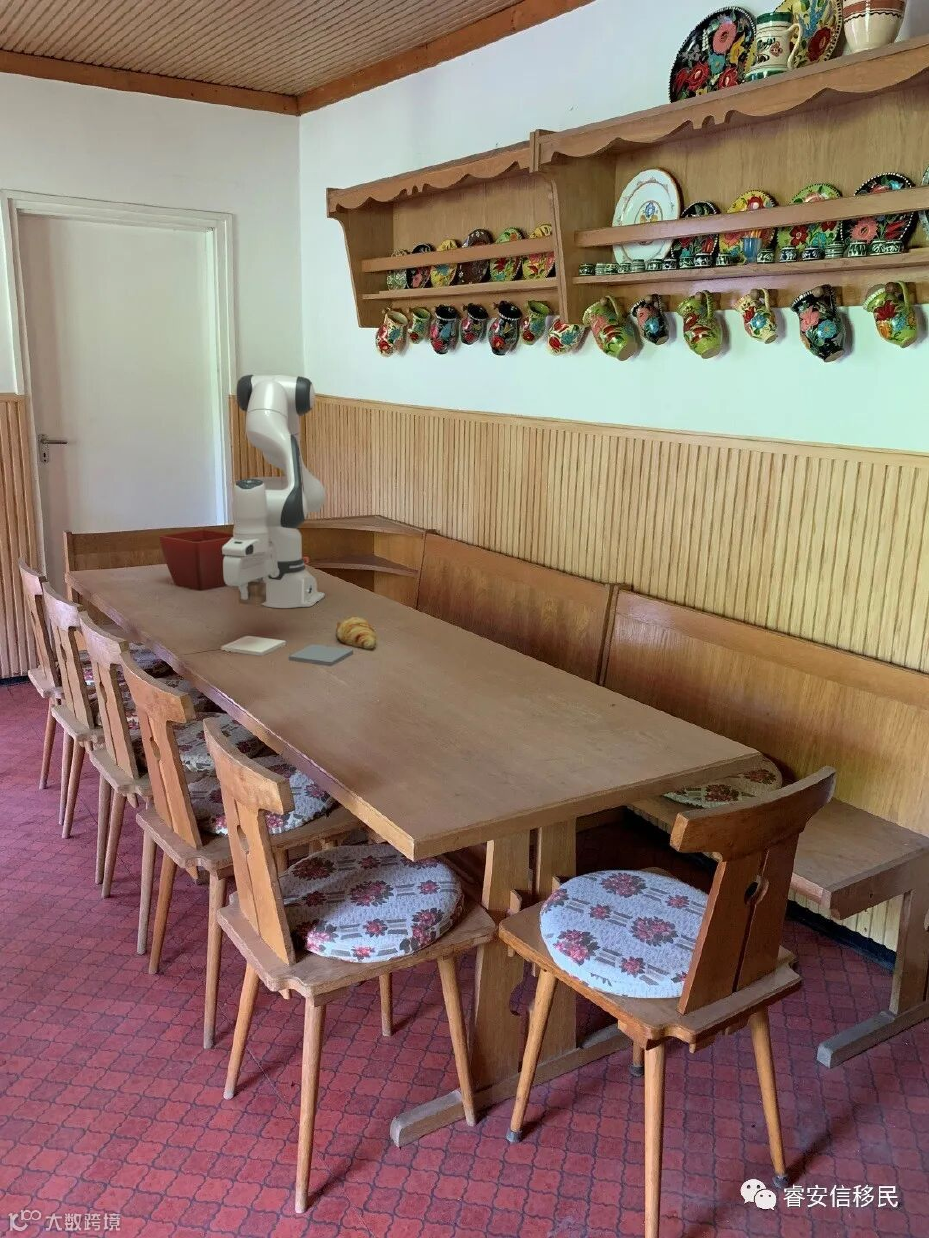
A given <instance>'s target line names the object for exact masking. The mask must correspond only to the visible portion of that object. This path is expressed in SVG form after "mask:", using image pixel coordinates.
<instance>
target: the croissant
mask: <svg viewBox="0 0 929 1238" xmlns="http://www.w3.org/2000/svg"><path fill="white" fill-rule="evenodd" d="M335 632H336V633H335V634H336V637H337V639H338V640H339V641H340V642H342V643H343V644H345V645H349V646H353V647H355V648H363V649H367V650H368V649H369V650H370V649H373V648H374V647H375V646H376V645H377V635H376V633H375V630H374V628H373V627H372V625H371V623H370V622H369V621H368V620H366V619H365V618H363V617H359V616H352V617H348V618H346V619H345V620H343V621H338V622H337V625H336V628H335Z"/></svg>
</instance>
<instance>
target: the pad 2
mask: <svg viewBox="0 0 929 1238" xmlns="http://www.w3.org/2000/svg"><path fill="white" fill-rule="evenodd" d="M352 655H354V649H350V648H344V647H335V646H327V645H319V644H313V643H312V644H311V645H309V646H306V647H305V648H303V649H300V650H297V651H296V652H294V653H293V654H291V655H289V656H288V660H289V661H294V662H301V663H309V664H315V665H323V666H327V667H329V666H330V667H332V666H334V665H335V664H337V663H339V662H341V661H343V660H344V659H346V658H348V657H350V656H352Z"/></svg>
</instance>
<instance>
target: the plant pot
mask: <svg viewBox="0 0 929 1238" xmlns="http://www.w3.org/2000/svg"><path fill="white" fill-rule="evenodd" d="M232 537H233V533H228V532H223V531H217V530H209V529H199V530H198V529H197V530H191V531H182V532H175V533H169V534H168V533H167V534H162V535H159V540H160V541H159V542H160V546H161V550H162V554H163V556H164V560H165V563H166V566H167V569H168V571H169V573H170V576H171V579H172V581H173V583H174V585H175V586H177V587H181V588H186V589H190V590H195V591H203V590H204V591H205V590H210V589H214V588H215V589H216V588H221V587H226V586H227V585H226V583H225V581H224V575H223V560H224V557H225V556H226V555H224V554H223V553H222V547H223V546H224V545H225V544H226V543H227V542H228V541H229V540H230V539H231V538H232Z"/></svg>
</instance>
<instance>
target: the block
mask: <svg viewBox="0 0 929 1238" xmlns="http://www.w3.org/2000/svg"><path fill="white" fill-rule="evenodd" d="M247 590H248V592H250V598H249V599H246V600H244V599H242V598H241V592H240V590H239V589H238V603H239V605H249V606H258V605H259V606H260V605H262V604H261V603H264V602H266V583H263V582H257V581H255V580H253V581H251V582H248V586H247Z"/></svg>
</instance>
